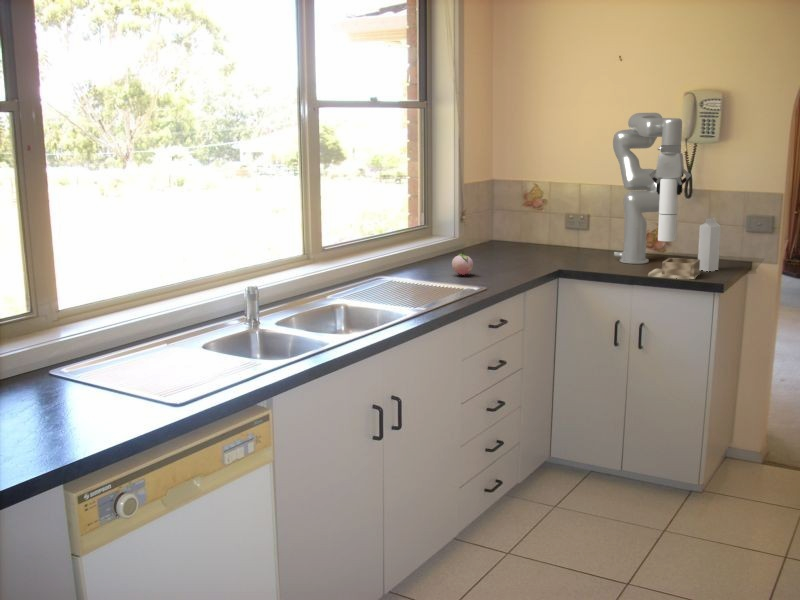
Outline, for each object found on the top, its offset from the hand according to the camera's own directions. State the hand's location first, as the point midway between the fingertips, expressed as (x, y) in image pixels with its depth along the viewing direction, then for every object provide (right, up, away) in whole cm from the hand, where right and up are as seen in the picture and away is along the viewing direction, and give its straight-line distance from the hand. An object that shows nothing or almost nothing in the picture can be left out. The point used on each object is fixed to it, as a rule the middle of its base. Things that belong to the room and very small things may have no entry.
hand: (669, 194), depth 346 cm
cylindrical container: (0, -19, +4) cm, 19 cm away
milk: (+21, -30, +16) cm, 40 cm away
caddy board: (+4, -33, +5) cm, 33 cm away
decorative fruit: (-83, -33, +10) cm, 90 cm away
